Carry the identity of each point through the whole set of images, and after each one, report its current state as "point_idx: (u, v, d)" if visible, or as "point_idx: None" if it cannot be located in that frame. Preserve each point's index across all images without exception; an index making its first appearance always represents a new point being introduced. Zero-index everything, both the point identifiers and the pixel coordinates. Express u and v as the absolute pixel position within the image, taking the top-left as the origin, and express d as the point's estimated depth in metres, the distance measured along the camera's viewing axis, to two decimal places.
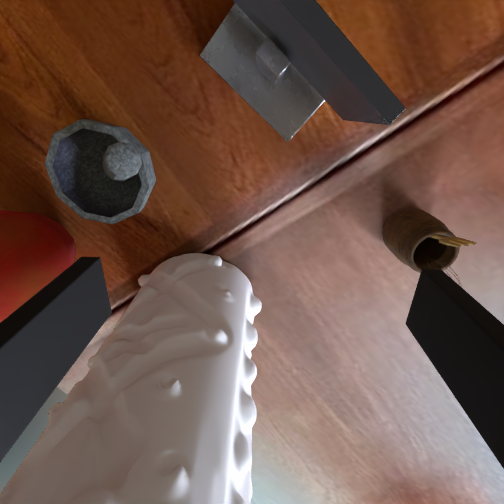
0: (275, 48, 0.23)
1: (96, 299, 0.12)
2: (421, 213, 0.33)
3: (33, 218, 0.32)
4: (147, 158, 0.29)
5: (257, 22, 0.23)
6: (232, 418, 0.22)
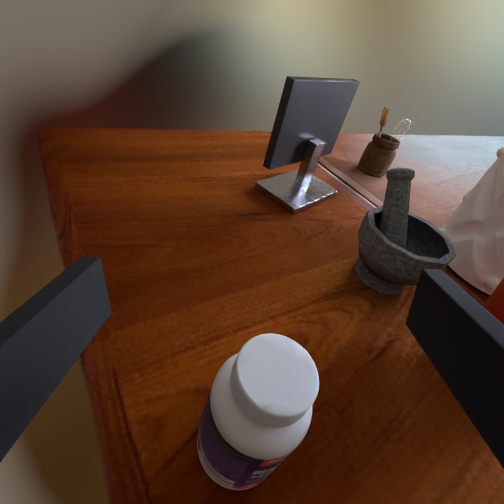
0: None
1: (96, 299, 0.12)
2: (363, 154, 0.61)
3: None
4: None
5: (296, 153, 0.43)
6: None
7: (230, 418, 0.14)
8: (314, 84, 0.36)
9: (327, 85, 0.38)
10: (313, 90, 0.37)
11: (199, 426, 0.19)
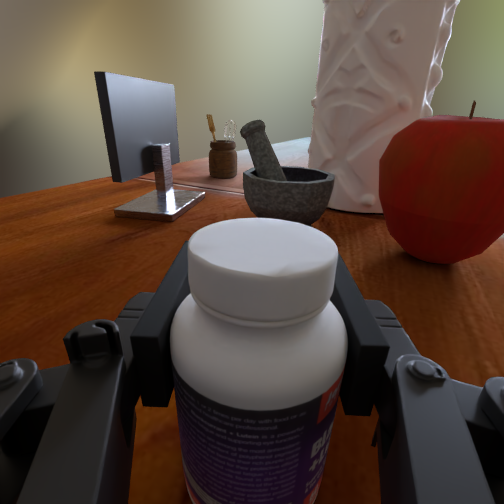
0: (156, 144, 0.40)
1: None
2: (210, 163, 0.62)
3: (384, 201, 0.28)
4: None
5: (144, 161, 0.39)
6: None
7: (232, 360, 0.07)
8: (129, 80, 0.34)
9: (143, 84, 0.37)
10: (131, 87, 0.34)
11: (185, 474, 0.10)
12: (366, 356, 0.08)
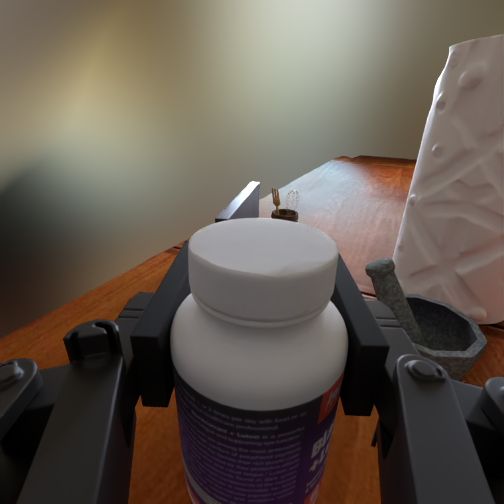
0: None
1: None
2: None
3: None
4: None
5: None
6: (421, 146, 0.40)
7: (232, 360, 0.07)
8: (239, 210, 0.30)
9: (245, 203, 0.33)
10: (239, 216, 0.31)
11: (185, 474, 0.10)
12: (366, 356, 0.08)
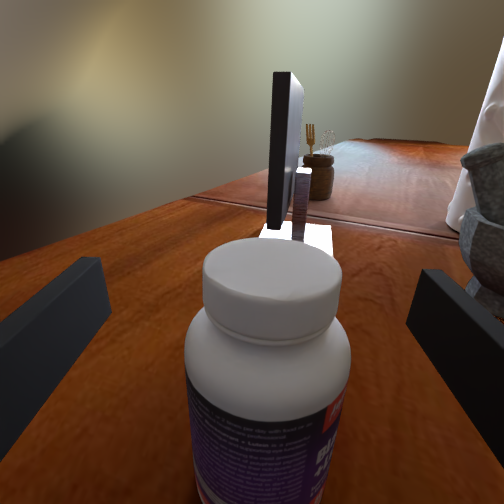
0: (298, 170, 0.29)
1: (96, 299, 0.12)
2: None
3: None
4: None
5: (288, 195, 0.28)
6: (502, 44, 0.33)
7: (244, 375, 0.08)
8: (295, 85, 0.23)
9: (298, 89, 0.26)
10: (295, 94, 0.24)
11: (197, 478, 0.11)
12: None
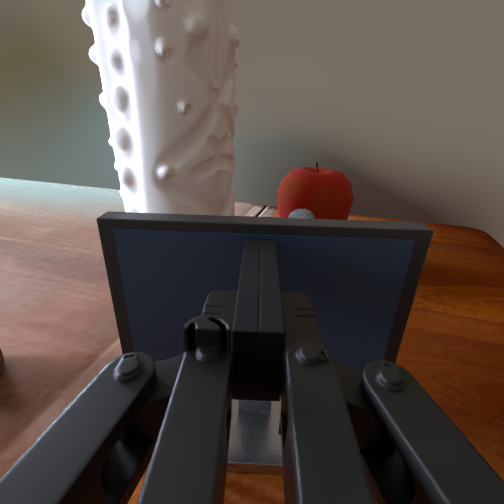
0: None
1: None
2: None
3: None
4: None
5: None
6: (136, 107, 0.32)
7: None
8: None
9: None
10: None
11: None
12: (265, 342, 0.08)
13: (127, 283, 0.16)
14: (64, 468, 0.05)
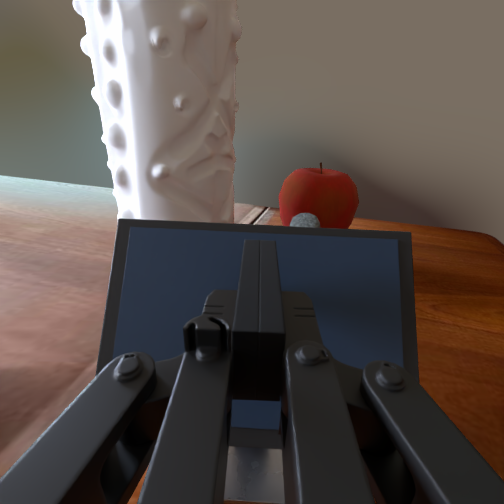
0: None
1: None
2: None
3: None
4: None
5: None
6: (129, 102, 0.30)
7: None
8: None
9: None
10: None
11: None
12: (265, 342, 0.08)
13: (127, 281, 0.16)
14: (64, 468, 0.05)
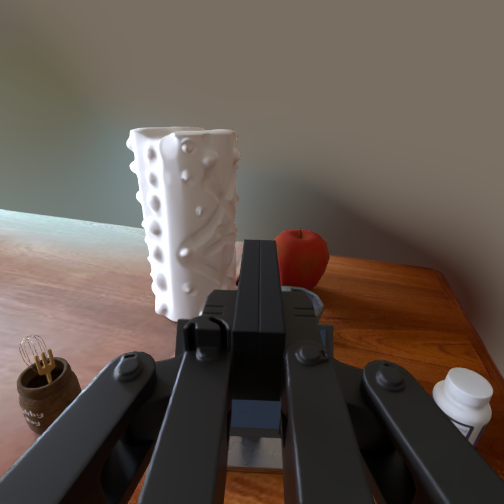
0: None
1: None
2: (57, 415, 0.34)
3: (305, 280, 0.58)
4: None
5: None
6: (166, 211, 0.45)
7: None
8: None
9: None
10: None
11: None
12: (265, 342, 0.08)
13: None
14: (64, 468, 0.05)
